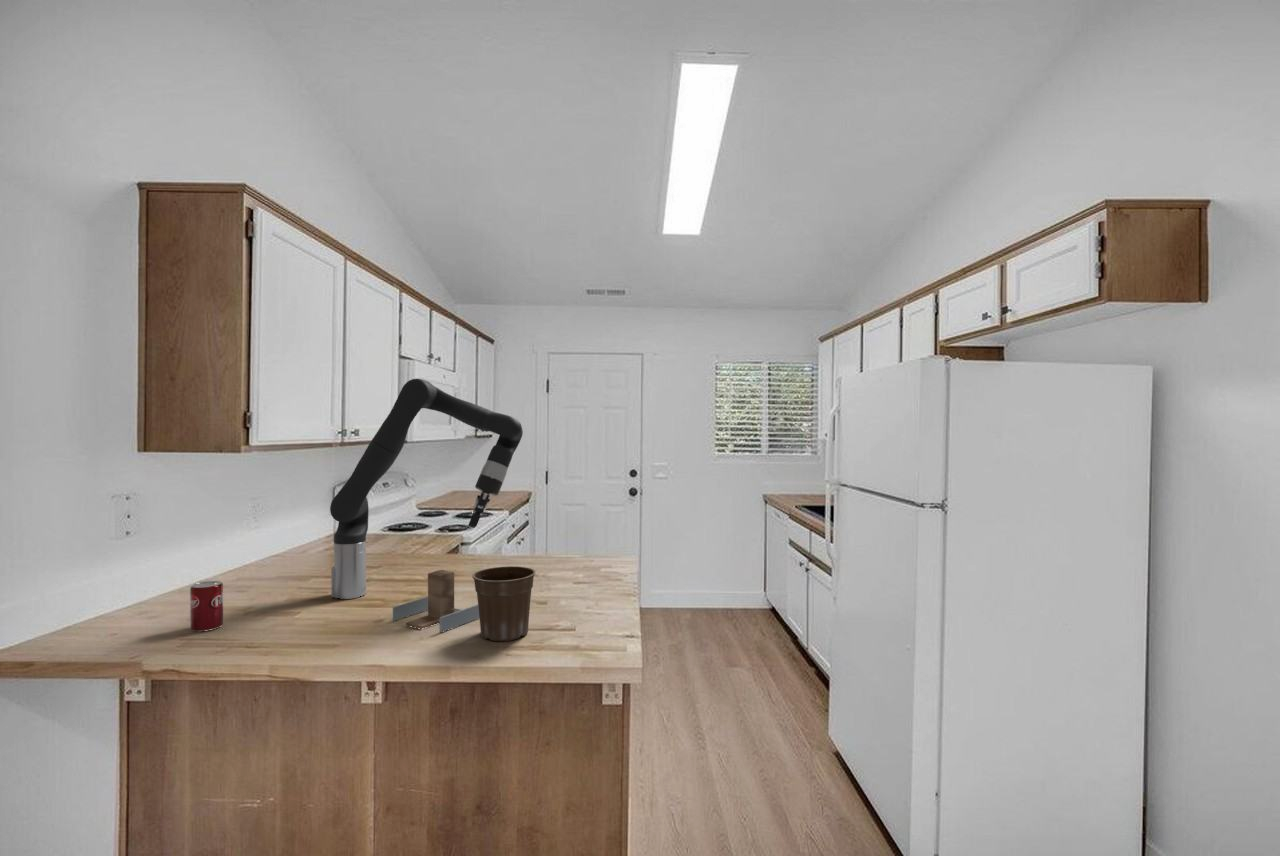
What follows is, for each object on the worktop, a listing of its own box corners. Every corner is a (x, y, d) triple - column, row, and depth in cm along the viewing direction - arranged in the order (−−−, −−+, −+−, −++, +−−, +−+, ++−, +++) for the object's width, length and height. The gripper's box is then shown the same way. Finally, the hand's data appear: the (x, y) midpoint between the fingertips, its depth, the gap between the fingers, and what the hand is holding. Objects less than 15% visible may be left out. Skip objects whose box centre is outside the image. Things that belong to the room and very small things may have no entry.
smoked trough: (437, 606, 185) (437, 593, 185) (484, 616, 176) (484, 602, 176) (392, 621, 172) (392, 606, 171) (441, 633, 162) (441, 618, 162)
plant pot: (468, 628, 166) (468, 568, 166) (527, 620, 172) (527, 563, 172) (477, 648, 151) (477, 583, 151) (542, 639, 157) (542, 576, 157)
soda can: (188, 634, 161) (187, 588, 161) (193, 626, 167) (192, 582, 167) (221, 630, 164) (221, 585, 164) (225, 622, 171) (224, 579, 170)
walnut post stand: (440, 614, 178) (440, 569, 178) (455, 617, 175) (455, 572, 175) (406, 626, 168) (406, 578, 167) (421, 630, 165) (421, 581, 164)
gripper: (479, 476, 200) (459, 523, 195) (481, 470, 186) (460, 521, 182) (501, 484, 201) (482, 531, 197) (505, 479, 188) (484, 530, 183)
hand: (471, 526), depth 189 cm, fingers open, 8 cm apart
